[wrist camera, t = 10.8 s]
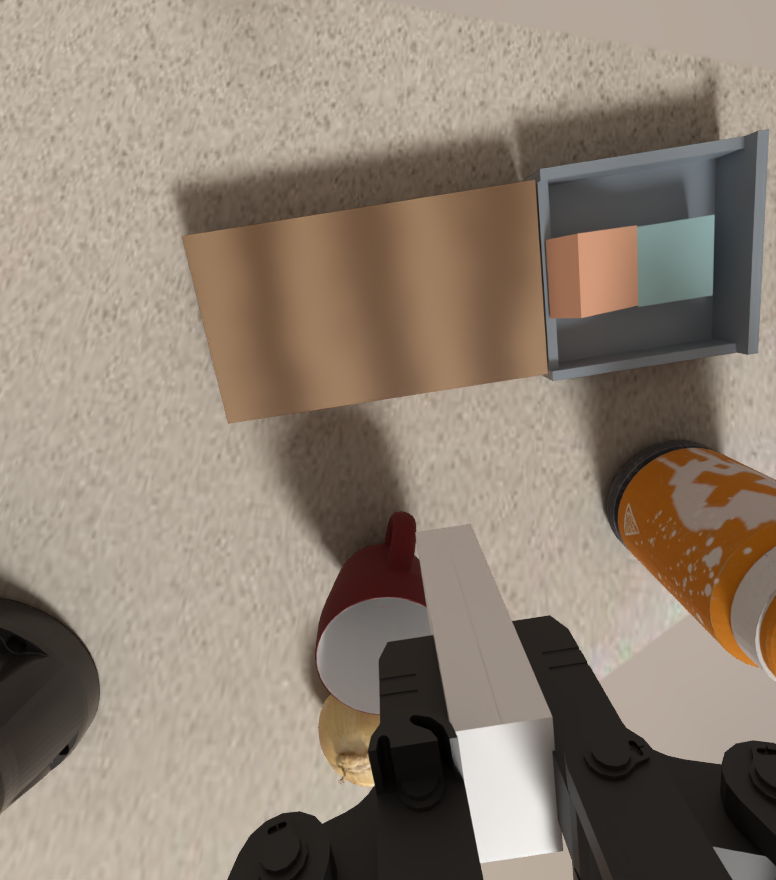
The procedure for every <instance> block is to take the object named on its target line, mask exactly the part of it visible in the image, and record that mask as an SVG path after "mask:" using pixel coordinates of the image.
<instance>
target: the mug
mask: <svg viewBox="0 0 776 880" xmlns="http://www.w3.org/2000/svg"><path fill="white" fill-rule="evenodd" d="M415 533H416V522H415V519H414V517H413V516H412V515H410V514H409V513H406V512H395V513H393V514H392V515H391V517H390V519H389V522H388V527H387V532H386V538H385V543H379V544H374V545H370V546H368V547H365V548H363V549H361V550H360V551H358V552H357V553H355V554H354V555H353V556H351V557H350V558H349V559H348V561H347V562H346V563H345V564H344V566H343V567H342V569H341V571H340V572H339V574H338V576H337V579H336V581H335V583H334V585H333V587H332V590H331V592H330V594H329V596H328V598H327V600H326V603H325V605H324V608H323V610H322V613H321V617H320V621H319V626H318V633H317V640H316V650H315V661H316V668H317V672H318V674H319V677H320V679H321V681H322V683H323V685H324V686H325V688H326V689H327V690H328V691H329V692H330V694H331V695H332V696H333V697H335V698H336V699H337V700H338V701H340V702H341V703H343V704H344V705H346V706H348V707H350V708H352V709H354V710H357V711H360V712H364V713H368V714H374V715H380V696H379V658H380V656H381V654H382V652H383V650H384V648H385V646H386V644H387V642H391V641H397V640H404V639H410V638H417V637H423V636H430V635H431V630H430V624H429V619H428V612H427V606H426V599H425V593H424V586H423V580H422V573H421V567H420V560H419V559H418V558H417V557H416V556H415V555H414V552H415V543H416V534H415Z"/></svg>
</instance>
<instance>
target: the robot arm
mask: <svg viewBox="0 0 776 880" xmlns="http://www.w3.org/2000/svg"><path fill="white" fill-rule="evenodd" d="M415 534H416V541H417V547H418V554H419V560H420V567H421V573H422V580H423V586H424V593H425V599H426V606H427V612H428V619H429V624H430V630H431V635H430V636H423V637H417V638H410V639H404V640H397V641H391V642H387V644H386V646H385V648H384V650H383V652H382V654H381V656H380V658H379V696H380V724H379V726H378V727H377V729H376V730H375V731H374V733H373V734H372V736H371V738H370V743H369V747H368V756H369V761H370V765H371V770H372V775H373V780H374V787H373V788H372V790H371V791H370V793H369V794H368V795H367V796H366V797H365V798H364V799H363V800H362V801H361V802H360V803H359V804H358V805H356V806H355V807H353V808H352V809H350V810H348V811H347V812H345V813H343V814H341V815H339V816H337V817H335V818H333V819H331V820H329V821H327V822H325V823H323V824H322V823H321V822H320V821H319V820H318V819H317V818H316V817H315V816H312V815H309V814H306V813H303V812H300V811H299V812H290V813H282V814H280V815H278V816H276V817H274V818H272V819H270V820H268V821H266V822H265V823H263V824H262V825H261V826H260V827H259V828H258V829H257V830H256V831H255V832H254V833H252V834H251V835H250V837H249V838H248V840H247V841H246V843H245V845H244V846H243V848H242V849H241V851H240V853H239V854H238V857H237V859H236V861H235V863H234V866H233V868H232V870H231V872H230V875H229V877H228V879H227V880H483V875H482V870H481V865H480V863H485V862H492V861H498V860H505V859H511V858H518V857H525V856H532V855H539V854H546V853H552V852H559V851H563V843H562V833H563V836H564V839H565V842H566V844H567V847H568V850H569V853H570V856H571V859H572V865H573V879H574V880H776V744H775V743H769V742H761V741H748V742H743V743H737V744H735V745H734V746H733V747H731V748H730V749H729V750H727V751H726V752H725V754H724V757H723V761H722V765H721V764H714V763H706V762H699V761H691V760H684V759H679V758H675V757H671V756H667V755H665V754H662V753H659V752H657V751H655V750H653V749H652V748H651V747H650V746H649V745H648V743H647V742H646V741H645V740H644V739H643V738H642V737H640V736H638V735H637V734H635V733H634V732H632V731H630V730H629V729H627V728H626V727H625V725H624V724H623V723H622V721H621V719H620V718H619V716H618V714H617V713H616V711H615V709H614V707H613V706H612V704H611V702H610V701H609V699H608V697H607V695H606V693H605V692H604V690H603V688H602V687H601V685H600V683H599V681H598V680H597V678H596V676H595V674H594V673H593V671H592V669H591V667H590V666H588V664H587V661H586V659H585V657H584V655H583V654H582V652H581V650H579V647H578V645H577V643H576V642H575V640H574V638H573V636H572V635H571V633H570V631H569V629H568V628H566V627H565V626H563V625H562V624H561V623H559V622H558V621H557V620H555V619H554V618H553V617H551V616H550V615H549V616H543V617H536V618H530V619H523V620H517V621H512V620H511V618H510V616H509V613H508V611H507V609H506V606H505V604H504V601H503V599H502V597H501V594H500V592H499V590H498V587H497V585H496V583H495V580H494V578H493V576H492V573H491V571H490V568H489V566H488V564H487V561H486V559H485V557H484V554H483V552H482V550H481V547H480V545H479V542H478V540H477V538H476V535H475V533H474V531H473V528H472V526H471V524H467V525H461V526H455V527H448V528H442V529H435V530H429V531H422V532H416V533H415ZM99 699H100V685H99V679H98V675H97V671H96V668H95V666H94V663H93V661H92V659H91V657H90V656H89V654H88V652H87V651H86V649H85V648H84V646H83V645H82V644H81V643H80V641H79V640H78V639H77V638H76V637H75V636H74V635H73V634H72V633H71V632H70V631H69V630H68V629H67V628H65V627H64V626H63V625H62V624H60V623H59V622H58V621H56V620H55V619H53V618H52V617H50V616H48V615H46V614H45V613H43V612H41V611H39V610H37V609H34V608H32V607H30V606H27V605H24V604H21V603H18V602H14V601H11V600H6V599H0V814H1V813H2V812H3V811H4V810H6V809H7V808H8V807H9V806H10V805H11V804H13V803H14V802H15V801H16V800H17V799H19V798H20V797H21V796H22V795H23V794H25V793H26V792H27V791H28V790H29V789H30V788H32V787H33V786H34V785H35V784H36V783H38V782H39V781H40V780H41V779H42V778H43V777H44V776H46V775H47V774H48V773H49V772H50V771H51V770H52V769H54V768H55V767H56V766H58V765H59V764H60V763H61V762H62V761H64V760H65V759H66V758H67V757H68V756H69V754H70V753H71V752H72V751H73V750H74V749H75V747H76V746H77V745H78V743H79V742H80V740H81V739H82V737H83V735H84V734H85V732H86V731H87V729H88V728H89V726H90V724H91V723H92V721H93V719H94V717H95V715H96V712H97V709H98V705H99Z"/></svg>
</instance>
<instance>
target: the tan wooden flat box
mask: <svg viewBox="0 0 776 880" xmlns="http://www.w3.org/2000/svg"><path fill="white" fill-rule="evenodd" d="M182 239H183V243H184V247H185V251H186V255H187V259H188V263H189V267H190V271H191V276H192V280H193V284H194V288H195V292H196V296H197V300H198V304H199V308H200V312H201V316H202V320H203V324H204V328H205V332H206V336H207V340H208V344H209V348H210V352H211V357H212V361H213V365H214V369H215V373H216V377H217V381H218V385H219V389H220V393H221V397H222V401H223V405H224V409H225V413H226V417H227V421H228V424H229V423H235V422H241V421H248V420H254V419H261V418H267V417H274V416H280V415H286V414H293V413H299V412H306V411H312V410H319V409H325V408H331V407H338V406H344V405H351V404H357V403H364V402H370V401H376V400H383V399H389V398H396V397H402V396H409V395H415V394H422V393H428V392H434V391H441V390H447V389H454V388H460V387H467V386H473V385H479V384H486V383H492V382H499V381H505V380H512V379H518V378H524V377H531V376H537V375H544V374H548V369H547V354H546V338H545V323H544V308H543V292H542V277H541V261H540V246H539V231H538V215H537V200H536V185H535V180H530V181H524V182H517V183H511V184H505V185H499V186H492V187H486V188H480V189H474V190H467V191H461V192H455V193H449V194H442V195H436V196H430V197H424V198H417V199H411V200H405V201H399V202H392V203H386V204H380V205H374V206H367V207H361V208H355V209H349V210H342V211H336V212H330V213H324V214H317V215H311V216H305V217H299V218H292V219H286V220H280V221H274V222H267V223H261V224H255V225H249V226H242V227H236V228H230V229H224V230H217V231H211V232H205V233H199V234H192V235H186V236H182Z"/></svg>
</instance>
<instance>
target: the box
mask: <svg viewBox="0 0 776 880" xmlns="http://www.w3.org/2000/svg"><path fill="white" fill-rule="evenodd" d="M768 141H769V129H767V130H761V131H757V132H754V133H752V134H749V135H747V136H742V137H736V138H730V139H724V140H717V141H711V142H705V143H699V144H693V145H686V146H680V147H674V148H668V149H661V150H655V151H649V152H643V153H636V154H630V155H624V156H618V157H611V158H605V159H599V160H593V161H586V162H580V163H574V164H568V165H562V166H555V167H549V168H543V169H539V170H538V171H536V172H535V173H533V174H532V175H530V176H529V177H527V178H526V179H525V181H530V180H535V185H536V200H537V215H538V231H539V246H540V261H541V277H542V292H543V308H544V323H545V338H546V354H547V369H548V374H544V375H543V376H544V377H546V378H548V379H550V380H552V381H557V380H563V379H570V378H576V377H583V376H589V375H595V374H602V373H608V372H615V371H621V370H628V369H634V368H641V367H647V366H653V365H660V364H666V363H673V362H679V361H686V360H692V359H699V358H705V357H711V356H718V355H724V354H731V353H742V354H747V355H749V354H755V353H758V343H759V322H760V302H761V282H762V262H763V242H764V221H765V201H766V181H767V161H768ZM709 215H715V219H714V260H713V295H711V296H705V297H699V298H692V299H686V300H680V301H673V302H667V303H660V304H654V305H648V306H641V307H629V308H624V309H620V310H615V311H611V312H606V313H602V314H597V315H593V316H588V317H584V318H550V304H549V288H548V272H547V256H546V240H548V239H553V238H558V237H563V236H568V235H573V234H579V233H586V232H593V231H600V230H607V229H614V228H621V227H628V226H635V225H637V227H640V226H647V225H653V224H659V223H665V222H672V221H678V220H684V219H691V218H697V217H703V216H709Z"/></svg>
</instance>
